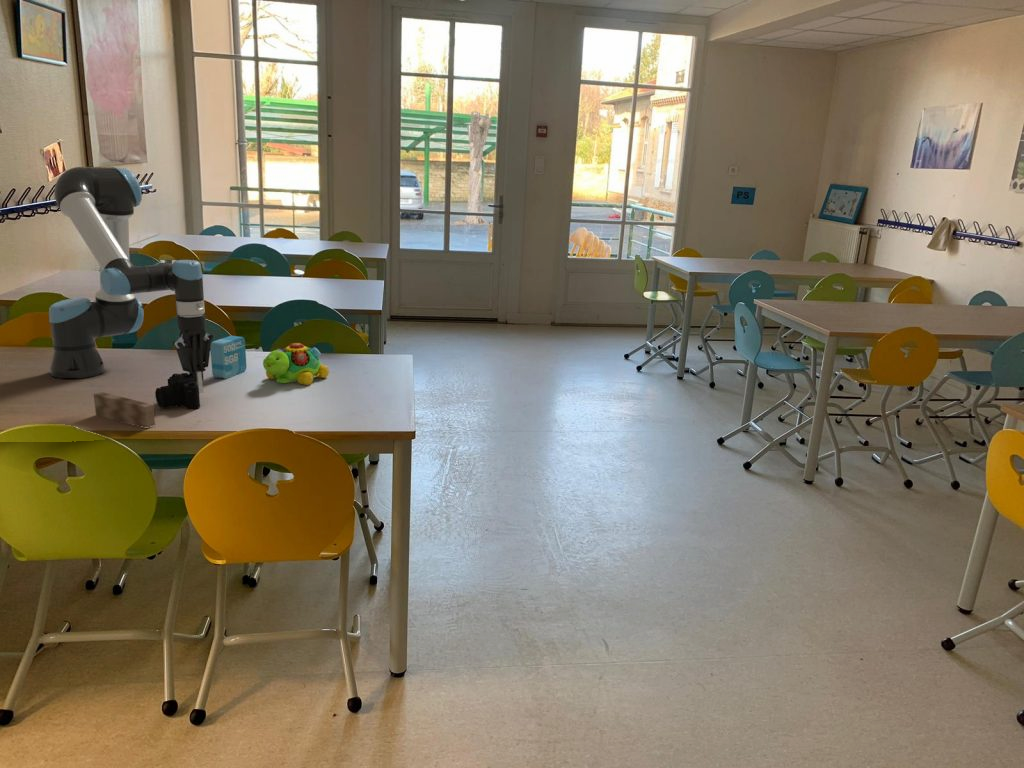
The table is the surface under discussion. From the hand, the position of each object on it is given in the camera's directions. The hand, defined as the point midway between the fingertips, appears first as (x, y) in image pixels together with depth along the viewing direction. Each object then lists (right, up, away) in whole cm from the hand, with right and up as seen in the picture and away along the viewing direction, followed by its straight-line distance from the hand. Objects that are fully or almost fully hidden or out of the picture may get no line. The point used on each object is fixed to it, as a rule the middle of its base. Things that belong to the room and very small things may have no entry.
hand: (197, 392), depth 221 cm
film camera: (-3, -4, -7) cm, 9 cm away
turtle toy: (+22, +3, +21) cm, 31 cm away
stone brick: (-11, -7, -21) cm, 25 cm away
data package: (+1, +5, +24) cm, 25 cm away
